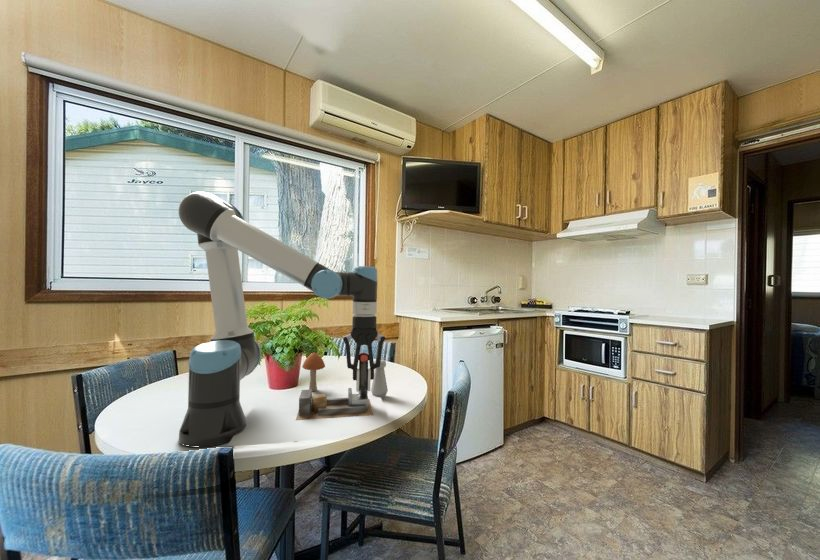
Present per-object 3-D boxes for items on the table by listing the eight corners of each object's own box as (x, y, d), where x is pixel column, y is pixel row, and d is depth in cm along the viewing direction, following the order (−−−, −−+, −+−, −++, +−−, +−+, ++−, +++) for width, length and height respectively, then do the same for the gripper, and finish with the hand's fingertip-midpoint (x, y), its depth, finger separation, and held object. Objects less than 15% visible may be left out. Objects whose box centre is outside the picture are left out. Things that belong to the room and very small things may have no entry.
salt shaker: (384, 400, 116) (385, 362, 116) (368, 399, 117) (369, 361, 117) (389, 395, 122) (389, 358, 122) (374, 393, 123) (374, 357, 123)
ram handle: (348, 410, 102) (349, 354, 103) (347, 403, 108) (349, 351, 108) (369, 409, 104) (370, 354, 104) (367, 402, 109) (368, 350, 109)
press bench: (295, 424, 95) (296, 402, 95) (300, 406, 109) (301, 387, 109) (373, 419, 100) (374, 398, 100) (369, 402, 114) (369, 384, 114)
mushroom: (316, 398, 116) (317, 355, 116) (296, 395, 119) (297, 353, 119) (328, 392, 124) (329, 350, 124) (310, 389, 126) (311, 349, 126)
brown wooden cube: (311, 412, 101) (311, 399, 101) (312, 407, 105) (312, 394, 105) (326, 411, 102) (326, 398, 102) (326, 406, 106) (326, 393, 106)
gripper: (338, 316, 101) (337, 395, 101) (391, 316, 104) (389, 392, 104) (338, 314, 108) (337, 387, 108) (387, 314, 112) (386, 385, 112)
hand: (363, 389), depth 106 cm, fingers closed on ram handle, 3 cm apart
